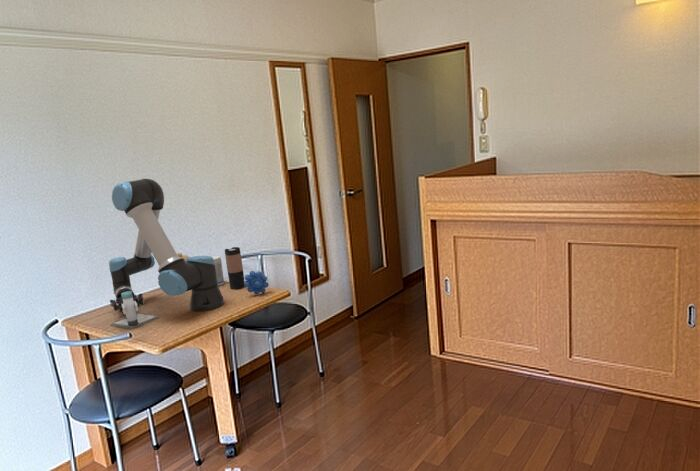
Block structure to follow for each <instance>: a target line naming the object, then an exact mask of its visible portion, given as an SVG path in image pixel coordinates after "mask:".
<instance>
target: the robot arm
mask: <svg viewBox="0 0 700 471" xmlns="http://www.w3.org/2000/svg"><path fill="white" fill-rule="evenodd" d="M111 193H112V194H111V201H112V205H113V206H114V208H115V209H116V210H118V211H120V212H121V211H122V212H124V213H125V215H126V217H128V218H131V219H132V220H133V221H134V223H135V225H136V228H138V233H137V238H136V244H135V249H134V253H133V257H131V258H128V259H127V258H126V257H124V256H119V257H115V258H111V259H110V260H109V261H108V264H109V265H108V266H109V272H110V276H111V280H112V287H113V294H114V296H115V299H110V300H109V302H110V306H111V307H112V308H113V310H114V311H118V310H119V313H122V312H123V315H126V312H125V307H124V304H123V299H122V296H121V293H123V292H126V291H132V295H133V301H134V305H135V310H136V312H138V311H139V308H140V307H141V306H143V305H144V297H143V296H144V295H143V293H139V294H137V295H136V294H135V293H134V291H133V289H132V285H131V277H130V276H132V275H134V274H137V273H141V272H143V271H144V272H145V271H147V270H149V269H151V268H153V267H154V266H155V263H157V264H158V270H157V272H158V276H157V280H158V281H157V283H158V286H159V288H160V289H161V291H162V292H164V293H165V294H166V295H169V296H172V297H176V296H178V295H183V294H185V293H187V292H189V291H191V294H190V295H191V296H190V301H189V308H190V310H191V311H194V312H203V311H209V310H213V309H217V308H219V307H221V306H223V305H224V304H225V299H224V298H225V297H224V296H223V294H222V292H221V290H220V288H219V286H218V284H217V277H216V270H215V264H214V259H213V258H212V257H211V256H212V255H196V256H189V258H187V261H186V262H187V263H186V262H185V260H184V258H182V257H179V256H178V255H177V254H178V252H176V249H175V248H174V246H173V245H172V243H171V241H170V240H169V238H168V236H167V234H166V233H165V231H164V229H163V227H162V225H161V223H160V222H159V218H160V213H161V211H162V210H163V208H164V204H165V195H164V194H165V193H164V190H163V188H162V186H161V185H160V184H159V183H158V182H157V181H155V180H153V179H151V178H141V179H136V180H129V181H123V182H121V183H118V184H116V185H115V186H114V187H113V188H112V192H111Z"/></svg>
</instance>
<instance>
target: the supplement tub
mask: <svg viewBox="0 0 700 471" xmlns="http://www.w3.org/2000/svg"><path fill="white" fill-rule="evenodd" d="M210 256H211V257H212V258H213V259H214V264H215V270H216V277H217V284H218V287H221V286H223V285H224V284H225V279H224V271H223V270H224V269H223V265H222V264H223V262H222V258H221V256H220V255H210Z"/></svg>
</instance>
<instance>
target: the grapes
mask: <svg viewBox="0 0 700 471" xmlns="http://www.w3.org/2000/svg"><path fill="white" fill-rule="evenodd" d="M244 285H245V287H246V288H247V291H248V293H253V294H254V295H256V296H258V295H260V293H261V294H264V293H266V291H267V290H266V289H267V288H268V287H269V285H270V284H269V283H268V278H267V276H266V275H263V273H262V271H259V270H257V271H254V270H251V271H249V274H246V275H244Z"/></svg>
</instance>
